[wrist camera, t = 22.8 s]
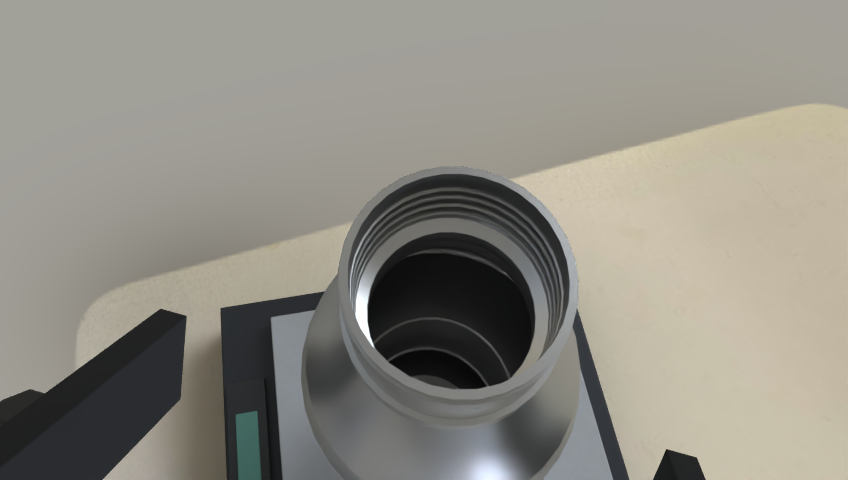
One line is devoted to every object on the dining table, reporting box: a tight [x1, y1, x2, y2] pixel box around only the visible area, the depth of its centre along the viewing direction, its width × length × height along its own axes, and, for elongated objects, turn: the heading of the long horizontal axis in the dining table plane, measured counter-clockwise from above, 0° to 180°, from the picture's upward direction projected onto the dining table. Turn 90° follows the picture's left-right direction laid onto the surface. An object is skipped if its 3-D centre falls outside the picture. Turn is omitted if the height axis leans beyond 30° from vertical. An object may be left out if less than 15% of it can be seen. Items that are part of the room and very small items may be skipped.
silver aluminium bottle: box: [301, 167, 580, 480], centre depth 18 cm, size 6×7×20 cm
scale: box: [221, 292, 629, 480], centre depth 28 cm, size 18×16×4 cm
